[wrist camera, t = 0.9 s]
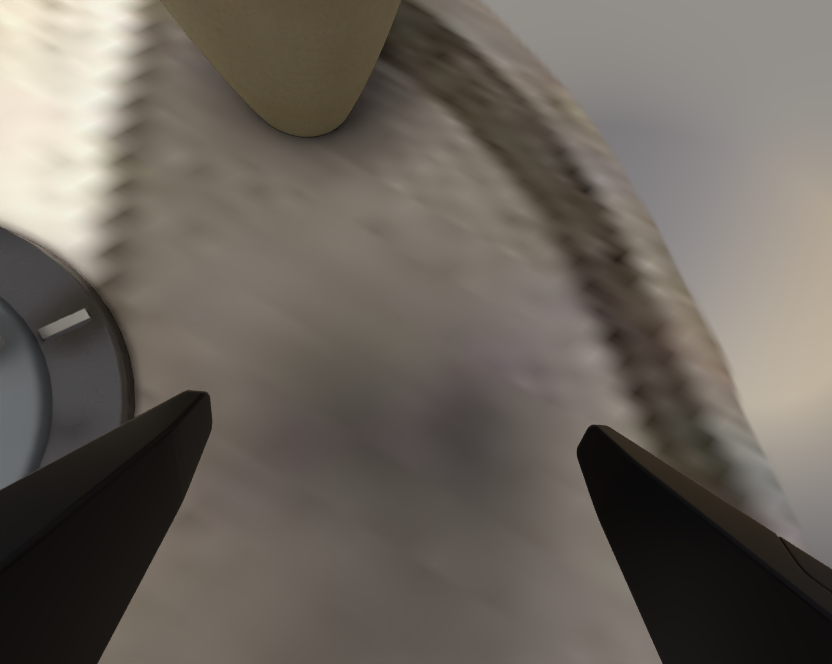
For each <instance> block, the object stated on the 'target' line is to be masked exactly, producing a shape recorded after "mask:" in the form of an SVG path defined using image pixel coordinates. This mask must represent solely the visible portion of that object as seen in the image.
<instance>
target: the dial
mask: <svg viewBox="0 0 832 664" xmlns="http://www.w3.org/2000/svg"><path fill="white" fill-rule="evenodd" d="M52 401H53V398H52V389H51V380H50V375H49V371H48V367H47V364H46V360H45V357H44V354H43V352H42V350H41V348H40V346H39V343H38V341H37V339H36V337H35V336H34V334H33V333H32V331H31V330H30V328H29V327H28V325H27V324H26V322H25V321H24V319H23V318H22V317H21V316H20V315H19V314H18V313H17V312H16V310H15V309H14V308H13V307H12V306H11V305H10V304H9V303H8V302H7V301H6V300H4V299H3V298H2V297H1V296H0V490H1V489H2V488H4V487H6V486H8V485H10V484H12V483H14V482H16V481H17V480H19V479H21V478H23V477H25V476H27V475H29V474H31V473H32V472H34V471H36V470H38V469H39V467H40V464H41V461H42V458H43V455H44V452H45V449H46V446H47V442H48V437H49V432H50V427H51V422H52Z"/></svg>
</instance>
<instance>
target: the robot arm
mask: <svg viewBox="0 0 832 664" xmlns="http://www.w3.org/2000/svg"><path fill="white" fill-rule="evenodd" d="M211 429H212V412H211V402H210V396H209V394H208V393H207V392H204V391H192V390H187V391H184V392H182V393H180V394H178V395H176V396H175V397H173V398H171V399H169V400H167V401H165V402H163V403H161V404H160V405H158V406H156V407H154V408H152V409H150V410H148V411H146V412H145V413H143V414H141V415H139V416H137V417H135V418H133V419H132V420H130V421H128V422H126V423H124V424H122V425H120V426H118V427H117V428H115V429H113V430H111V431H109V432H107V433H105V434H103V435H102V436H100V437H98V438H96V439H94V440H92V441H90V442H89V443H87V444H85V445H83V446H81V447H79V448H77V449H75V450H74V451H72V452H70V453H68V454H66V455H64V456H62V457H60V458H59V459H57V460H55V461H53V462H51V463H49V464H47V465H45V466H44V467H42V468H40V469H38V470H36V471H34V472H32V473H31V474H29V475H27V476H25V477H23V478H21V479H19V480H17V481H16V482H14V483H12V484H10V485H8V486H6V487H4V488H2V489H1V490H0V664H97V663H98V662H99V660H100V658H101V656H102V654H103V652H104V650H105V648H106V646H107V645H108V643H109V641H110V639H111V637H112V635H113V633H114V631H115V629H116V628H117V626H118V624H119V622H120V620H121V618H122V616H123V614H124V612H125V611H126V609H127V607H128V605H129V603H130V601H131V599H132V597H133V595H134V593H135V592H136V590H137V588H138V586H139V584H140V582H141V580H142V578H143V576H144V575H145V573H146V571H147V569H148V567H149V565H150V563H151V561H152V559H153V558H154V556H155V554H156V552H157V550H158V548H159V546H160V544H161V542H162V541H163V539H164V537H165V535H166V533H167V531H168V529H169V527H170V525H171V524H172V522H173V520H174V518H175V516H176V514H177V512H178V510H179V508H180V506H181V504H182V502H183V500H184V498H185V495H186V493H187V491H188V488H189V486H190V483H191V481H192V478H193V475H194V473H195V470H196V468H197V465H198V463H199V460H200V458H201V455H202V453H203V450H204V448H205V445H206V443H207V440H208V438H209V435H210V432H211ZM577 458H578V461H579V464H580V467H581V470H582V473H583V476H584V479H585V482H586V485H587V488H588V491H589V494H590V497H591V499H592V502H593V505H594V508H595V511H596V514H597V516H598V519H599V521H600V523H601V526H602V528H603V530H604V533H605V535H606V537H607V539H608V542H609V544H610V546H611V548H612V551H613V553H614V555H615V557H616V560H617V562H618V564H619V566H620V569H621V571H622V573H623V575H624V578H625V580H626V582H627V584H628V587H629V589H630V591H631V594H632V596H633V598H634V600H635V603H636V605H637V607H638V609H639V612H640V614H641V616H642V618H643V621H644V623H645V625H646V627H647V630H648V632H649V634H650V636H651V639H652V641H653V643H654V645H655V648H656V650H657V652H658V654H659V657H660V659H661V661H662V663H663V664H832V569H831V568H829V567H828V566H826V565H824V564H823V563H821V562H820V561H818V560H816V559H815V558H813V557H812V556H810V555H808V554H807V553H805V552H804V551H802V550H801V549H799V548H797V547H796V546H794V545H793V544H791V543H790V542H788V541H787V540H785V539H783V538H782V537H778V536H777V535H776V534H775V533H774V532H772V531H771V530H769V529H768V528H766V527H765V526H763V525H761V524H760V523H758V522H757V521H755V520H754V519H752V518H751V517H749V516H747V515H746V514H744V513H743V512H741V511H740V510H738V509H736V508H735V507H733V506H732V505H730V504H729V503H727V502H726V501H724V500H722V499H721V498H719V497H718V496H716V495H715V494H713V493H712V492H710V491H708V490H707V489H705V488H704V487H702V486H701V485H699V484H698V483H696V482H694V481H693V480H691V479H690V478H688V477H687V476H685V475H683V474H682V473H680V472H679V471H677V470H676V469H674V468H673V467H671V466H669V465H668V464H666V463H665V462H663V461H662V460H660V459H659V458H657V457H655V456H654V455H652V454H651V453H649V452H648V451H646V450H644V449H643V448H641V447H640V446H638V445H637V444H635V443H634V442H632V441H630V440H629V439H627V438H626V437H624V436H623V435H621V434H620V433H618V432H616V431H615V430H613V429H612V428H610V427H608V426H604V425H591V426H589V427H588V429H587V430H586V432H585V434H584V436H583V438H582V440H581V442H580V443H579V445H578V447H577Z"/></svg>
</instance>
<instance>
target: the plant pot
mask: <svg viewBox="0 0 832 664" xmlns="http://www.w3.org/2000/svg"><path fill="white" fill-rule="evenodd" d="M160 1H161V2H162V3H163V5H164V6H165V7H166V9H167V10H168V11H169V12H170V14H171V15H172V16H173V18H174V19H175V20H176V21H177V23H178V24H179V25H180V26H181V28H182V29H183V30H184V32H185V33H186V34H187V35H188V36H189V38H190V39H191V40H192V41H193V43H194V44H195V45H196V46H197V47H198V49H199V50H200V51H201V52H202V53H203V55H204V56H205V57H206V58H207V59H208V61H209V62H210V63H211V64H212V65H213V67H214V68H215V69H216V70H217V71H218V72H219V73H220V74H221V76H222V77H223V78H224V79H225V80H226V81H227V82H228V83H229V85H230V86H231V87H232V88H233V89H234V90H235V91H236V92H237V93H238V94H239V95H240V96H241V97H242V99H243V100H244V101H245V102H246V103H247V104H248V105H249V106H250V107H251V108H252V109H253V110H254V111H255V112H256V113H257V114H258V115H259V116H260V117H261V118H262V119H264V120H265V121H266V122H267V123H268V124H270V125H271V126H272V127H274V128H276V129H278V130H280V131H282V132H284V133H287V134H290V135H295V136H302V137H313V136H319V135H323V134H326V133H329V132H330V131H332V130H334V129H336V128H337V127H338V126H340V125H341V124H342V123H343V122H344V121H345V119H346V118H347V116H348V115H349V113H350V112H351V110H352V109H353V107H354V105H355V103H356V101H357V100H358V98H359V96H360V94H361V92H362V91H363V89H364V87H365V85H366V83H367V81H368V79H369V77H370V75H371V73H372V70H373V68H374V66H375V64H376V62H377V60H378V57H379V55H380V53H381V50H382V48H383V46H384V43H385V41H386V39H387V36H388V34H389V31H390V29H391V26H392V23H393V21H394V18H395V16H396V13H397V10H398V8H399V5H400V2H401V0H160Z"/></svg>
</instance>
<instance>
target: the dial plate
mask: <svg viewBox="0 0 832 664" xmlns="http://www.w3.org/2000/svg"><path fill="white" fill-rule="evenodd" d="M0 296H1V297H2V298H3V299H4V300H6V301H7V302H8V303H9V304H10V305H11V306H12V307H13V308H14V309H15V310H16V312H17V313H18V314H19V315H20V316H21V317H22V318H23V319H24V321H25V322H26V324H27V325H28V327H29V328H30V330H31V331H32V333H33V334H34V336H35V337H36V339H37V341H38V343H39V346H40V348H41V350H42V352H43V354H44V357H45V360H46V364H47V367H48V371H49V375H50V380H51V389H52V398H53V401H52V422H51V427H50V432H49V437H48V442H47V446H46V449H45V452H44V455H43V458H42V461H41V464H40V467H39V469H40V468H42V467H44V466H45V465H47V464H49V463H51V462H53V461H55V460H57V459H59V458H60V457H62V456H64V455H66V454H68V453H70V452H72V451H74V450H75V449H77V448H79V447H81V446H83V445H85V444H87V443H89V442H90V441H92V440H94V439H96V438H98V437H100V436H102V435H103V434H105V433H107V432H109V431H111V430H113V429H115V428H117V427H118V426H120V425H122V424H124V423H126V422H128V421H130V420H132V419H133V416H134V380H133V375H132V370H131V364H130V359H129V354H128V352H127V349H126V346H125V343H124V340H123V337H122V335H121V332H120V330H119V328H118V326H117V324H116V322H115V320H114V319H113V317H112V315H111V313H110V311H109V309H108V308H107V306H106V305H105V304H104V302H103V301H102V300H101V298H100V297H99V296H98V294H97V293H96V292H95V290H94V289H93V288H92V287H91V286H90V285H89V284H88V283H87V282H86V281H85V280H84V279H83V278H82V277H81V276H80V275H79V274H78V273H77V272H76V271H75V270H74V269H73V268H71V267H70V266H69V265H67V264H66V263H65V262H63V261H62V260H61V259H59V258H58V257H57V256H55V255H54V254H53V253H51V252H49V251H47V250H46V249H44V248H42V247H40V246H39V245H37V244H35V243H33V242H31V241H30V240H28V239H26V238H24V237H21V236H19V235H17V234H15V233H13V232H11V231H8V230H6V229H4V228H2V227H0Z"/></svg>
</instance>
